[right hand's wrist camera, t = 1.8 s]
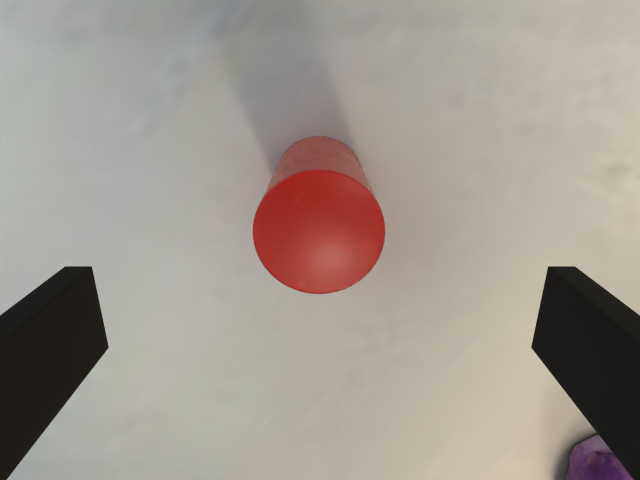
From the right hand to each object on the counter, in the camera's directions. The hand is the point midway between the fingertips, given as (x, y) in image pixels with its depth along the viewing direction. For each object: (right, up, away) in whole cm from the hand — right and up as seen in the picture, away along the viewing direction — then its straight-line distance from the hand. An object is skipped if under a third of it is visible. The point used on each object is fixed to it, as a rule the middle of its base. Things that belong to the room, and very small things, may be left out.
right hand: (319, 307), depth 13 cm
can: (0, +6, +17) cm, 18 cm away
